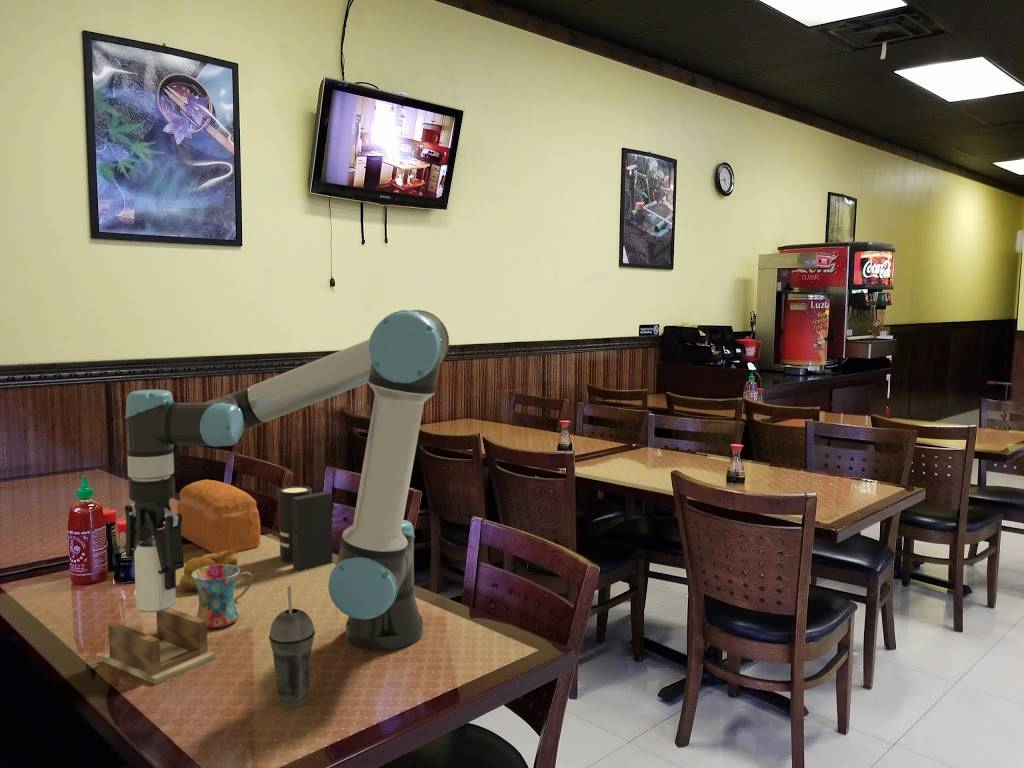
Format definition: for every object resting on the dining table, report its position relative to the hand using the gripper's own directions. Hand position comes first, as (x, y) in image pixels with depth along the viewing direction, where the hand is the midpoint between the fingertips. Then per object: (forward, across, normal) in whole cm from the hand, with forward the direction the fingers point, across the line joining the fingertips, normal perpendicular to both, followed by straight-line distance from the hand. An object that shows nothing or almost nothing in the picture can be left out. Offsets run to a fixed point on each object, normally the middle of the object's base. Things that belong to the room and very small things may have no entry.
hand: (155, 601), depth 143 cm
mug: (+11, +5, -18) cm, 22 cm away
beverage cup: (+11, -32, -3) cm, 34 cm away
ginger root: (+12, +25, -29) cm, 40 cm away
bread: (+12, +51, -52) cm, 74 cm away
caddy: (+11, 0, 0) cm, 11 cm away
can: (+1, 0, 0) cm, 1 cm away
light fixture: (+11, +20, -53) cm, 58 cm away
